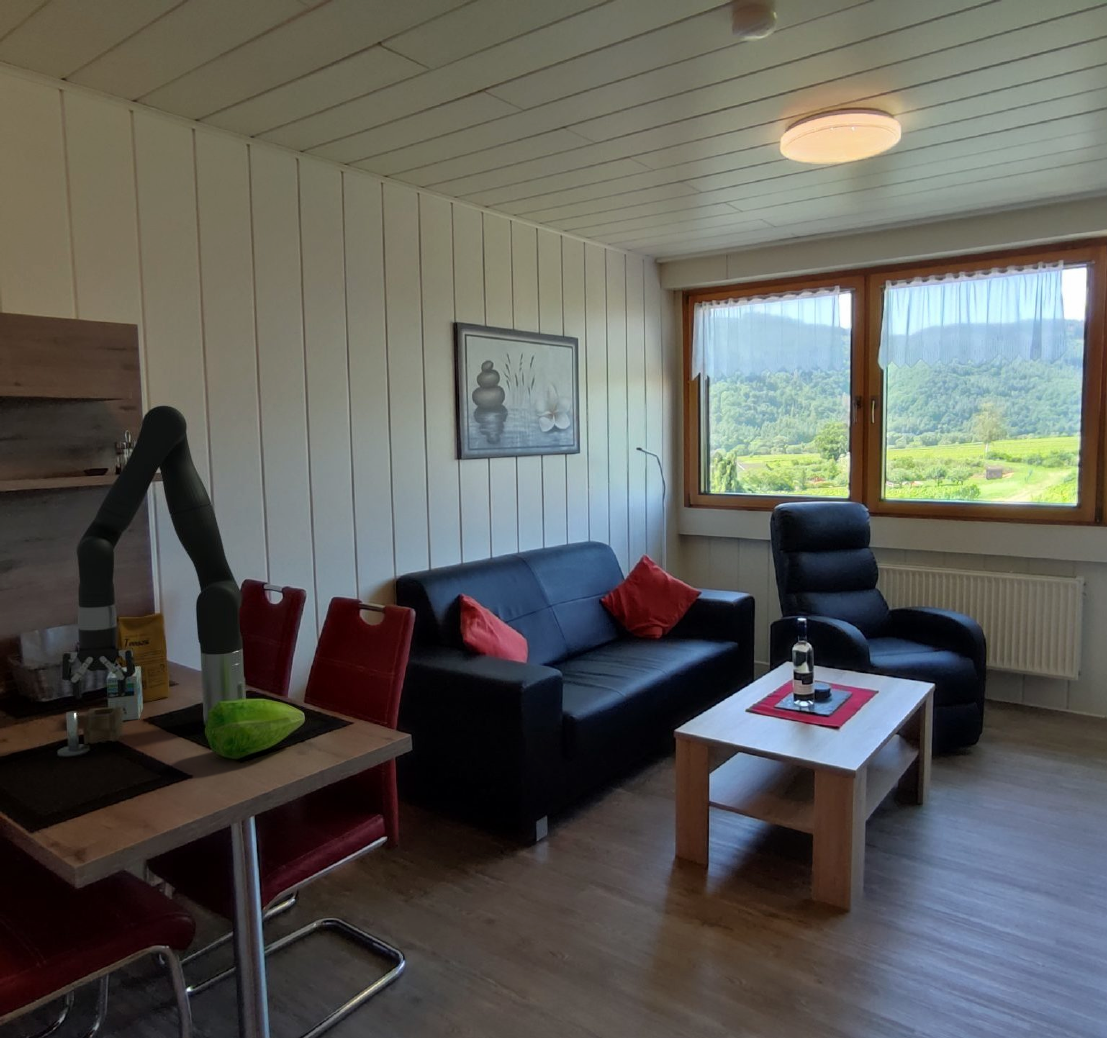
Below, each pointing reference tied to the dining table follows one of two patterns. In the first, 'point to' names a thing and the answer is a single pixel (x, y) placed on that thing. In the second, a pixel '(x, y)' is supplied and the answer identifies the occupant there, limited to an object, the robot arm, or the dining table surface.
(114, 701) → the light bulb box
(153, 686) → the coffee package
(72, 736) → the post
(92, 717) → the collar
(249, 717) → the lettuce
